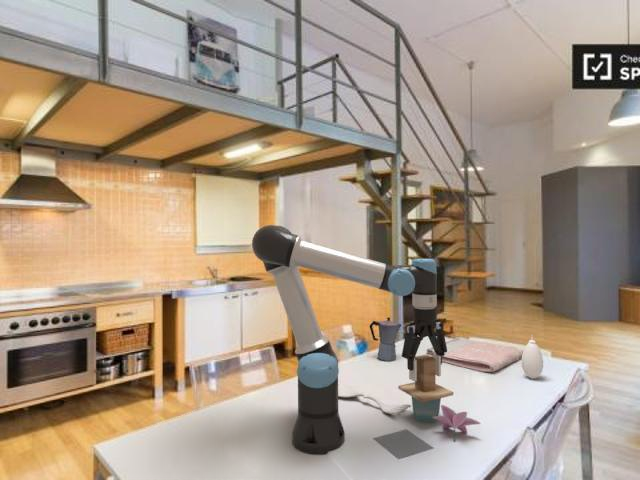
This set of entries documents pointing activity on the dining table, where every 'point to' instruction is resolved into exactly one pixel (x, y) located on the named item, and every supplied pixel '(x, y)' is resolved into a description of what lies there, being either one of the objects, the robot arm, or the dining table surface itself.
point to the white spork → (390, 409)
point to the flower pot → (426, 410)
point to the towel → (478, 354)
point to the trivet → (403, 443)
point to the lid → (425, 382)
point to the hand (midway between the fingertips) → (425, 377)
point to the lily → (455, 419)
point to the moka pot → (386, 339)
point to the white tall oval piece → (532, 360)
